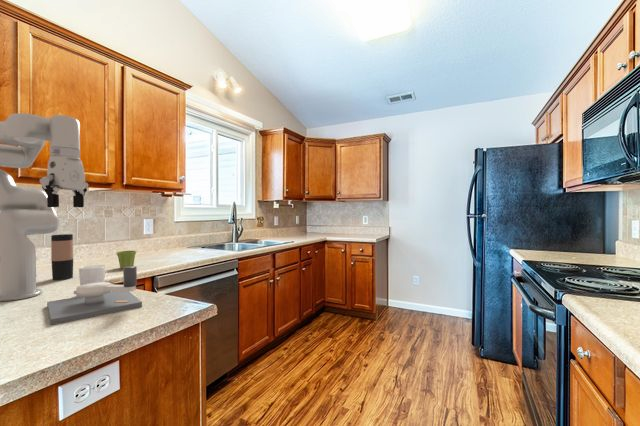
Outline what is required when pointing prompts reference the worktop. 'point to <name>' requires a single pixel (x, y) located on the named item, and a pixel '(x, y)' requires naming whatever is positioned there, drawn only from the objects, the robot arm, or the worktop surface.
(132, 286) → the lever handle
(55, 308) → the post base
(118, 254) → the plant pot
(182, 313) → the worktop surface
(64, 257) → the travel mug
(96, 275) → the white cup
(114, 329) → the worktop surface
